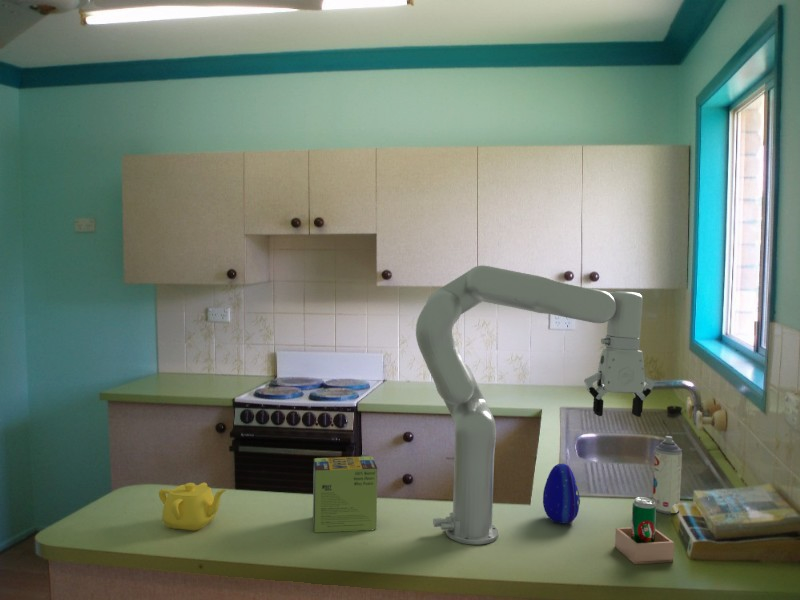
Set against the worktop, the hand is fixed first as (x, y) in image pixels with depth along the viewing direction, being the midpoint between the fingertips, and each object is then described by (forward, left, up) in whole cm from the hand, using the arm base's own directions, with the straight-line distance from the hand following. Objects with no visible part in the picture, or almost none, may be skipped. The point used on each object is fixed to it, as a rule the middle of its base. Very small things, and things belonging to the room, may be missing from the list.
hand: (617, 415), depth 163 cm
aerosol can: (+24, +16, -31) cm, 42 cm away
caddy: (+3, -9, -30) cm, 32 cm away
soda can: (+3, -9, -30) cm, 31 cm away
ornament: (-8, +12, -31) cm, 34 cm away
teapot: (-100, +22, -31) cm, 107 cm away
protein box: (-63, +18, -31) cm, 72 cm away
